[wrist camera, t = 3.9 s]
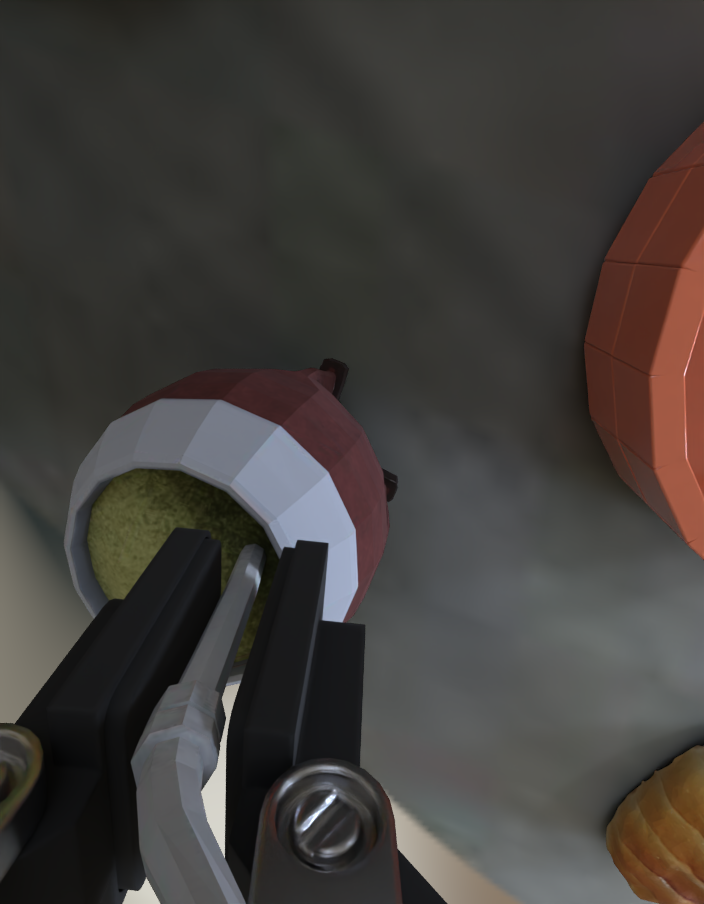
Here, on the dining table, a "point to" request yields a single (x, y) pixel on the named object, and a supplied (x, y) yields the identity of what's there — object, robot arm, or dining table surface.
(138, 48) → the dining table surface
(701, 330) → the terracotta bowl
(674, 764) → the pastry
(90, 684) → the robot arm
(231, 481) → the mate gourd
